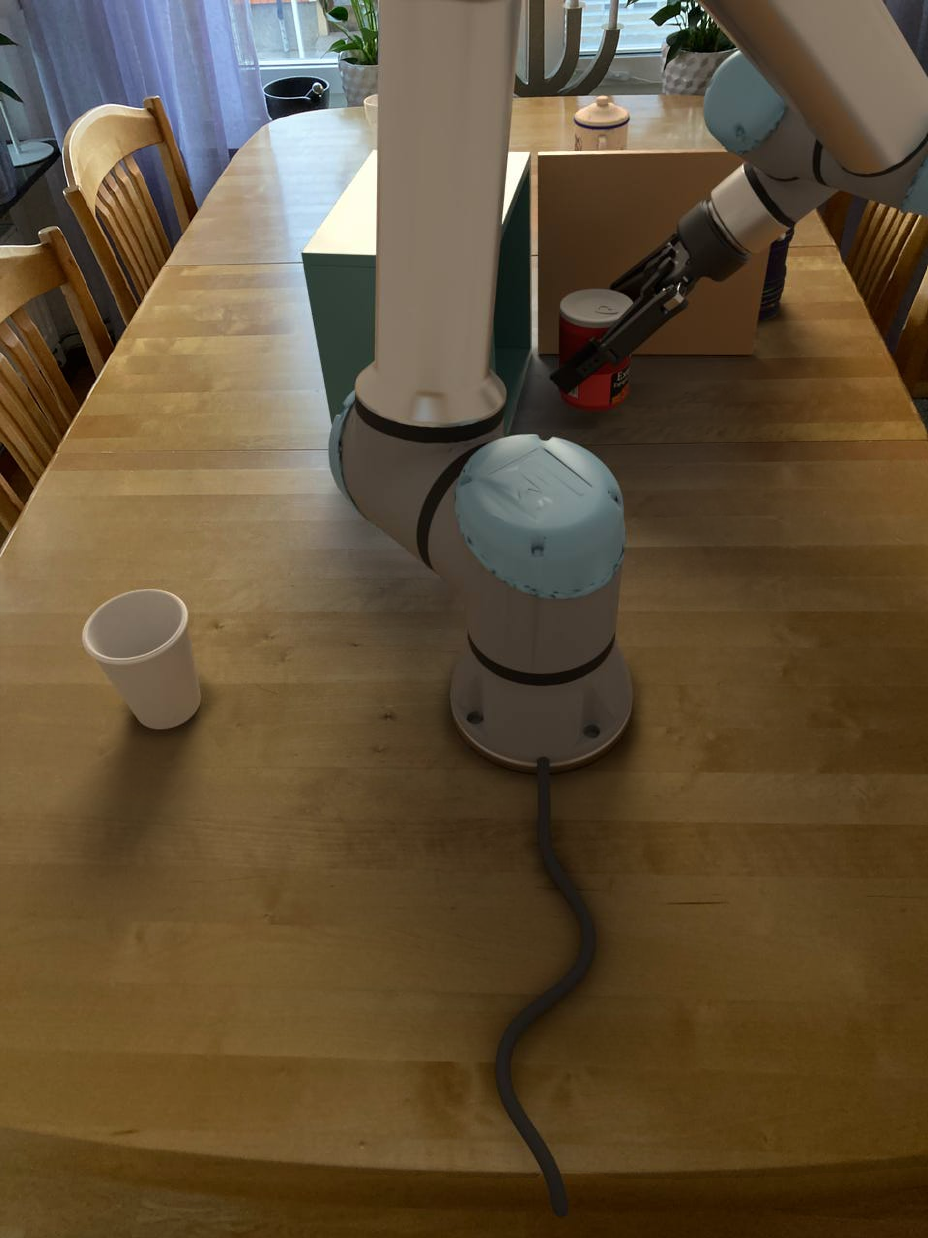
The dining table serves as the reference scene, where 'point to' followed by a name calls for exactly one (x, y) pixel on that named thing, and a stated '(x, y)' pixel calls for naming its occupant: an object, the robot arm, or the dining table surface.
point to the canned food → (576, 326)
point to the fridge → (348, 286)
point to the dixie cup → (147, 655)
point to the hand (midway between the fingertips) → (563, 364)
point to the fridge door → (638, 241)
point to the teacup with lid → (601, 127)
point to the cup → (372, 116)
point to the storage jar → (775, 277)
